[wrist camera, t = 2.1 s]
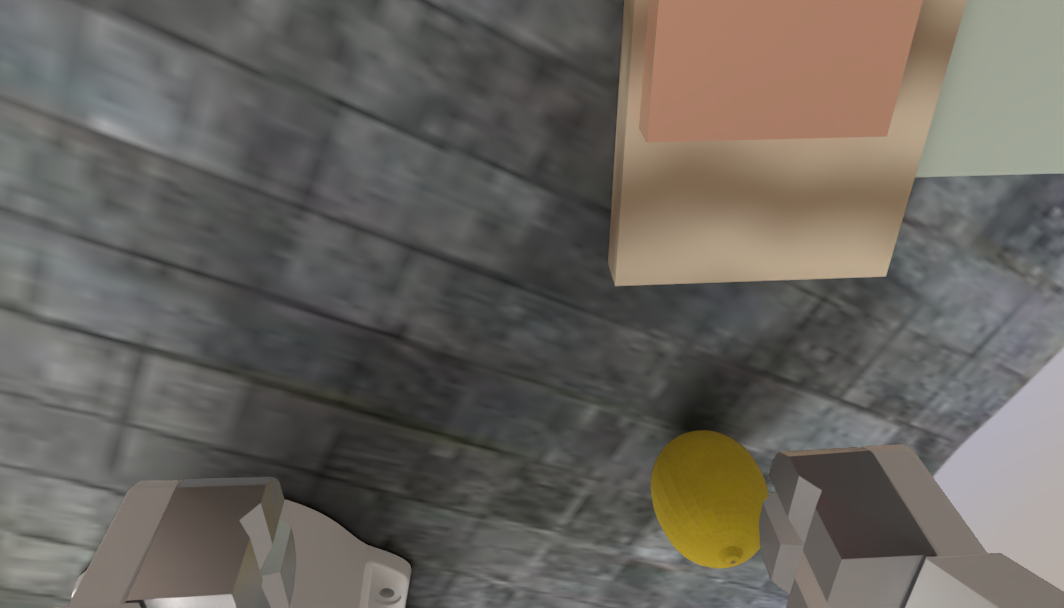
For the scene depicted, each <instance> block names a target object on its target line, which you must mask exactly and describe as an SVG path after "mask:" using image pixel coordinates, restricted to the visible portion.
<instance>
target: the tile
mask: <svg viewBox="0 0 1064 608" xmlns="http://www.w3.org/2000/svg"><path fill="white" fill-rule="evenodd" d="M922 2H923V0H649V7H648V19H647V32H646V45H645V57H644V70H643V83H642V95H641V108H640V121H639V129H640V131H641V133H642V135H643V137H644V139H645V140H646V142H684V141H725V140H766V139H806V138H847V137H887V134H888V131H889V127H890V123H891V119H892V115H893V112H894V108H895V104H896V100H897V96H898V93H899V89H900V85H901V81H902V77H903V74H904V70H905V66H906V62H907V59H908V55H909V51H910V47H911V43H912V40H913V36H914V32H915V28H916V24H917V21H918V17H919V13H920V9H921V5H922Z"/></svg>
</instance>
